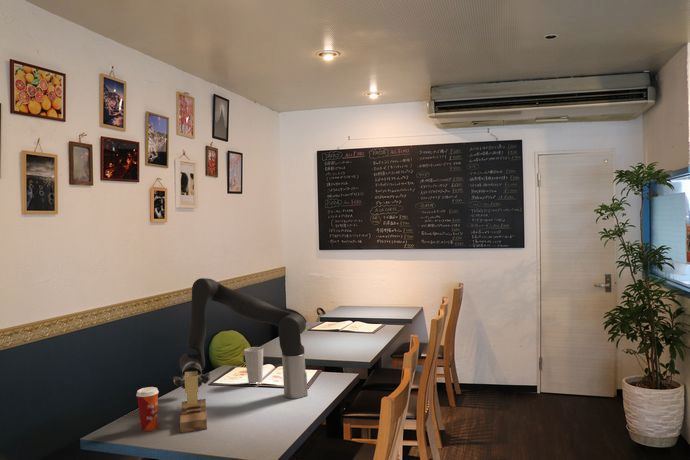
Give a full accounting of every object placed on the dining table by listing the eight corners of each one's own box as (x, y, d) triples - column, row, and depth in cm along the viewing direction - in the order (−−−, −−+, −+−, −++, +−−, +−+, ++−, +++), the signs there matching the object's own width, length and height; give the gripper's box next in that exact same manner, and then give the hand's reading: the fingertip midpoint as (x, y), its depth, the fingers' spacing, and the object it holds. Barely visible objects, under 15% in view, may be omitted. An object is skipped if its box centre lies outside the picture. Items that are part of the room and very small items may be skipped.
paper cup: (153, 432, 200) (151, 393, 200) (133, 431, 202) (131, 392, 201) (164, 424, 208) (162, 386, 208) (145, 423, 209) (143, 386, 209)
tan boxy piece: (198, 399, 216) (197, 370, 215) (199, 405, 209) (197, 375, 208) (186, 400, 214) (184, 372, 214) (186, 406, 208) (184, 377, 207)
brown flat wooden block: (205, 407, 224) (205, 398, 224) (206, 428, 201) (206, 419, 201) (182, 410, 222) (181, 401, 222) (180, 432, 199) (180, 422, 199)
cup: (269, 381, 255) (267, 347, 255) (256, 387, 248) (254, 352, 248) (254, 379, 260) (252, 346, 260) (241, 384, 253) (240, 350, 252)
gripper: (172, 365, 223) (170, 377, 207) (210, 361, 227) (211, 373, 210) (173, 384, 224) (171, 397, 207) (210, 380, 227) (212, 393, 211)
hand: (191, 385), depth 209 cm, fingers closed on tan boxy piece, 4 cm apart
